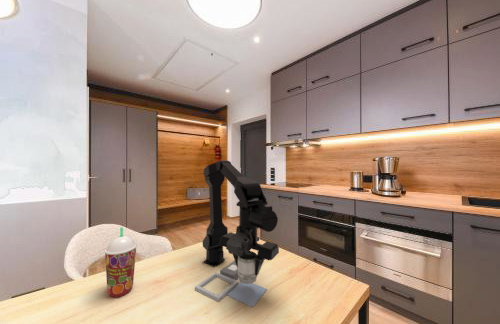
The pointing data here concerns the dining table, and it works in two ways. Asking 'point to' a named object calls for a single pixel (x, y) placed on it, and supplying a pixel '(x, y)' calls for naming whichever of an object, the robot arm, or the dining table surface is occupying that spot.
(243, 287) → the mat
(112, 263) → the smoothie
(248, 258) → the camera lens
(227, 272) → the grey frame with handle
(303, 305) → the dining table surface
